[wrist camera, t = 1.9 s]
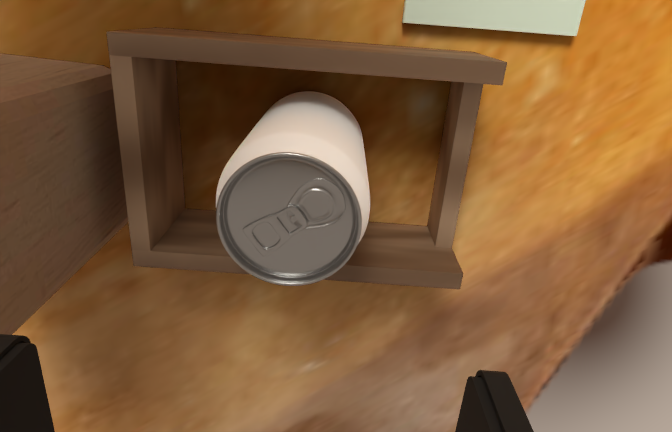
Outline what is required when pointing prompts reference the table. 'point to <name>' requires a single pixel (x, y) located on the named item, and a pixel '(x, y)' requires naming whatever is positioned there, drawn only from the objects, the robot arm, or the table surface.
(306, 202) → the can
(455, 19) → the sage mat
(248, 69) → the table surface
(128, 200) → the walnut box
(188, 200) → the table surface
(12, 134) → the block
